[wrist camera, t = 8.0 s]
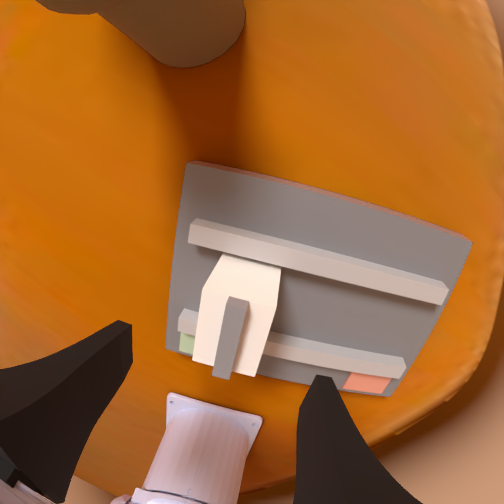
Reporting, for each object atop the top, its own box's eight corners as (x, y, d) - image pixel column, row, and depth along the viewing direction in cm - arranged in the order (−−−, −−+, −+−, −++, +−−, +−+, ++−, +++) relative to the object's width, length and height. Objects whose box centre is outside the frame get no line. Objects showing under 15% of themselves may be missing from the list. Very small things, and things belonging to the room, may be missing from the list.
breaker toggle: (263, 328, 17) (252, 385, 13) (212, 314, 17) (188, 368, 13) (281, 266, 16) (275, 316, 12) (223, 251, 16) (198, 296, 12)
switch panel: (386, 382, 20) (392, 407, 18) (172, 335, 21) (160, 357, 18) (461, 234, 15) (481, 249, 13) (195, 159, 16) (179, 165, 14)
